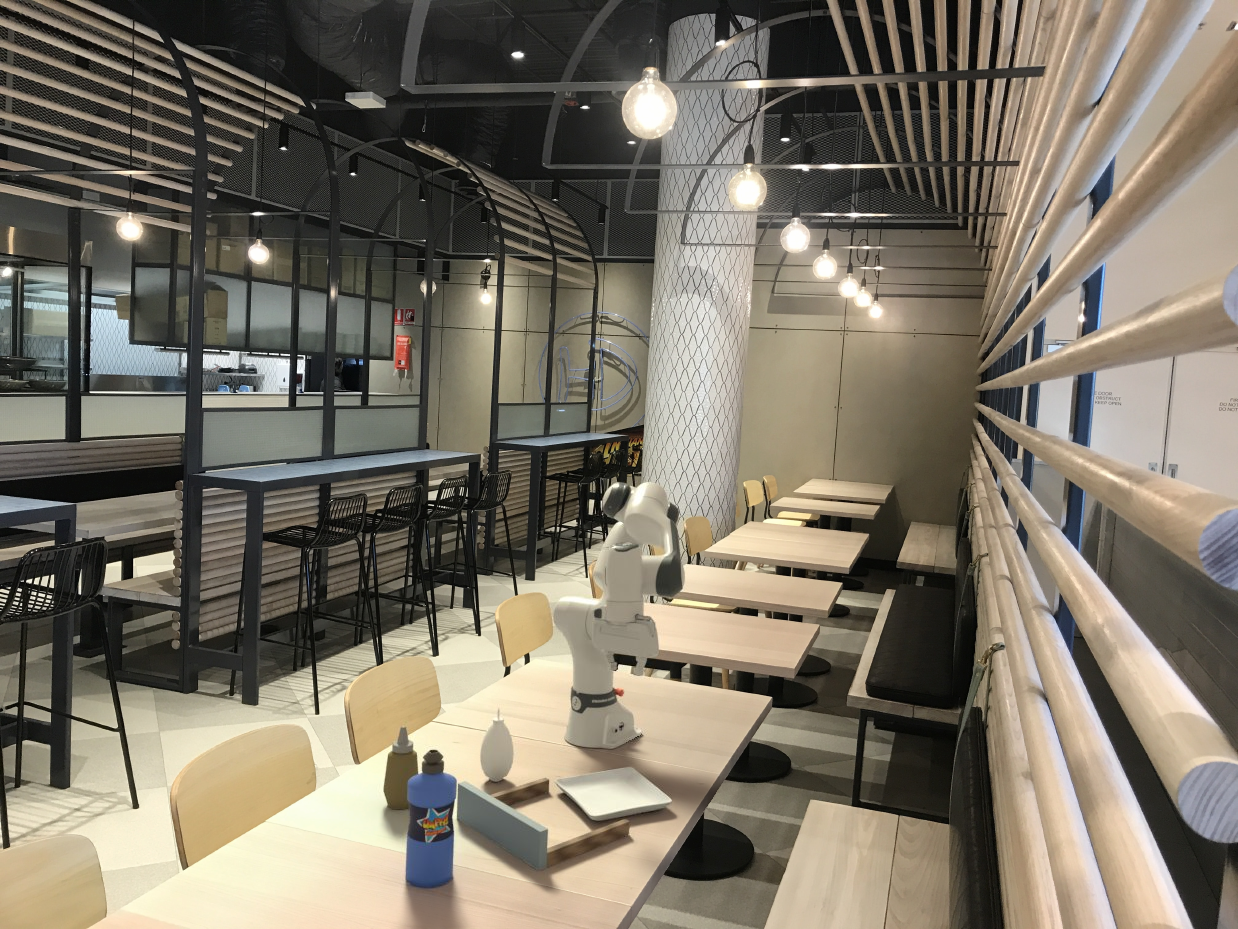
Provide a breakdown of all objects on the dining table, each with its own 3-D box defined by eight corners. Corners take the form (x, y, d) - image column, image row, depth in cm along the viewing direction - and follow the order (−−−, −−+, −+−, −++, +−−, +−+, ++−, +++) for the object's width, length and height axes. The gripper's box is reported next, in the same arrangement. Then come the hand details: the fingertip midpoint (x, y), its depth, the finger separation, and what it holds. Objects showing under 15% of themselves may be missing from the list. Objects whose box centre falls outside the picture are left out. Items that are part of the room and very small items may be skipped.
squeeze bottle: (425, 800, 219) (428, 724, 217) (406, 815, 211) (409, 736, 210) (395, 794, 221) (397, 718, 220) (375, 808, 214) (377, 730, 212)
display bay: (544, 789, 228) (546, 757, 227) (628, 834, 207) (630, 799, 206) (456, 818, 210) (457, 783, 210) (538, 870, 189) (540, 831, 189)
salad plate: (591, 830, 209) (591, 815, 208) (552, 792, 227) (553, 778, 227) (674, 814, 219) (674, 800, 218) (630, 779, 237) (631, 765, 237)
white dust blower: (518, 781, 232) (521, 708, 231) (493, 789, 226) (496, 715, 225) (498, 771, 237) (500, 700, 236) (473, 779, 232) (475, 707, 230)
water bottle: (400, 868, 188) (404, 745, 186) (447, 861, 192) (451, 740, 190) (409, 892, 179) (413, 763, 177) (458, 884, 183) (463, 757, 181)
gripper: (665, 615, 215) (665, 677, 215) (607, 608, 231) (607, 665, 231) (644, 618, 211) (644, 680, 211) (587, 610, 227) (587, 668, 226)
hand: (624, 672), depth 221 cm, fingers open, 8 cm apart
